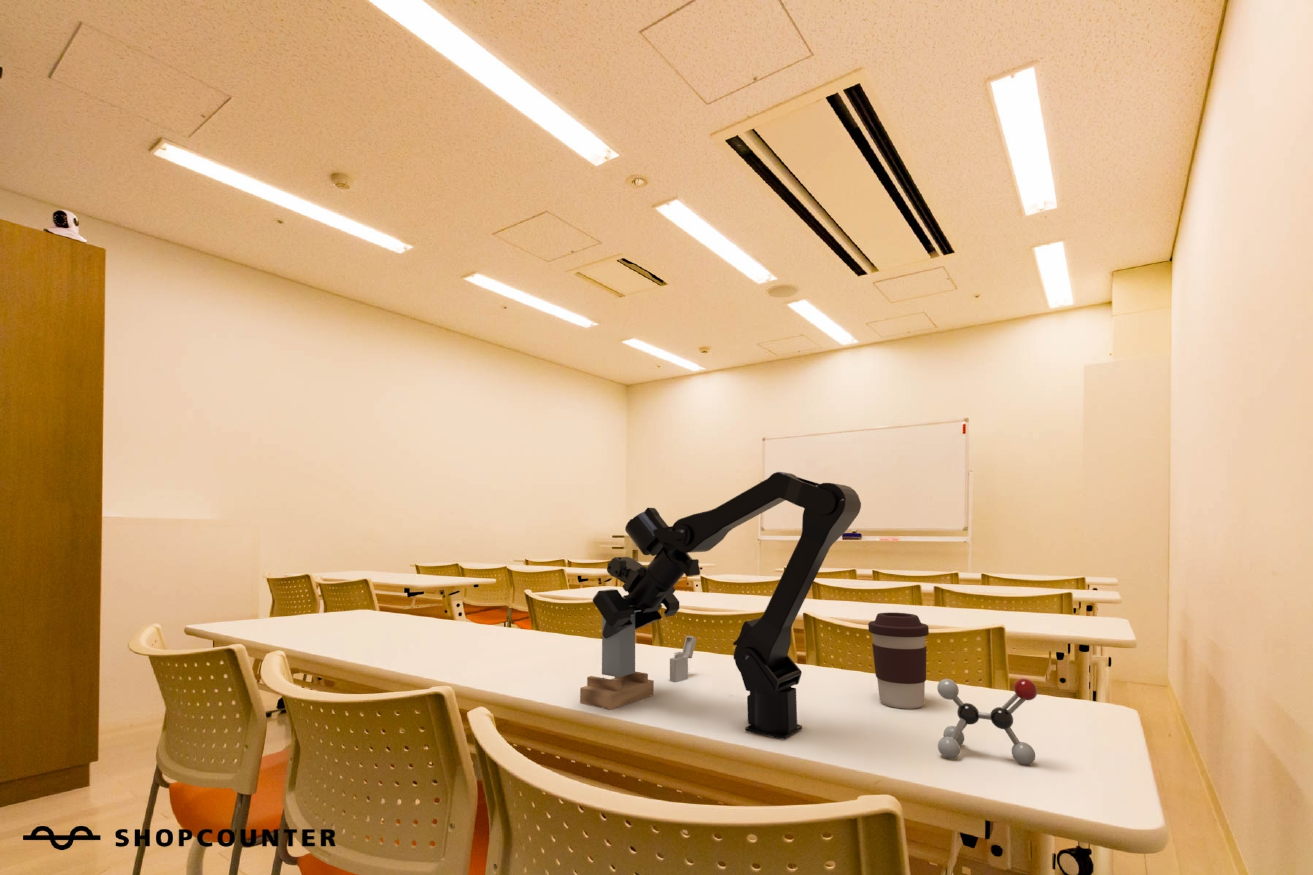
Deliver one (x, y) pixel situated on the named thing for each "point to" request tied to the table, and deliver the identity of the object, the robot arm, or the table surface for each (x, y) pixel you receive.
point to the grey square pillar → (619, 651)
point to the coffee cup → (900, 659)
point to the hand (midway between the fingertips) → (612, 634)
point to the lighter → (682, 661)
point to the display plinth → (616, 690)
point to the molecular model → (998, 716)
